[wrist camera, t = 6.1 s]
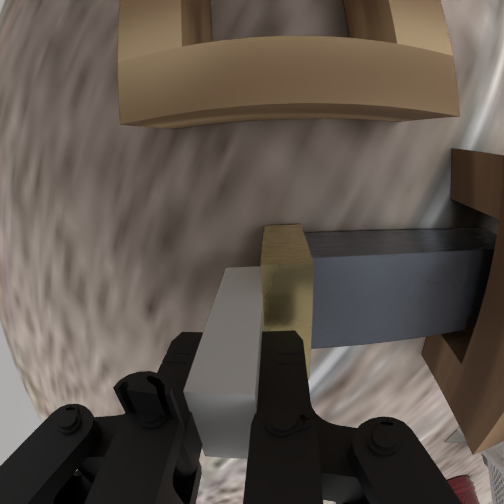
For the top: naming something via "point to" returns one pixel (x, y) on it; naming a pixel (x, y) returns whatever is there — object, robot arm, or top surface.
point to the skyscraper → (489, 465)
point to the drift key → (372, 283)
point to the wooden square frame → (284, 67)
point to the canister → (464, 489)
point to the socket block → (489, 320)
